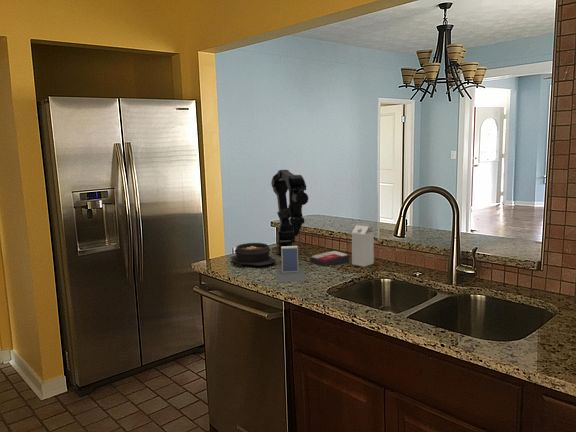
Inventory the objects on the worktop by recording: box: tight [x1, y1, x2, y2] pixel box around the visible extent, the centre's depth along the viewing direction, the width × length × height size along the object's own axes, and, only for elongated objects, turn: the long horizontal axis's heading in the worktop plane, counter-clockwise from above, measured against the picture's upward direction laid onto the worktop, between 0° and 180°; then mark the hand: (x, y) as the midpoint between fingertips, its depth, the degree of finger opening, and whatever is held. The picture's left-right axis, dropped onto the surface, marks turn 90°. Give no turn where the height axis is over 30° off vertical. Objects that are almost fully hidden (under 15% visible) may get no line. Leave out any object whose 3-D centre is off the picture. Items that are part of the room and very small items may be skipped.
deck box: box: [280, 245, 299, 273], centre depth 208 cm, size 3×7×11 cm, turn 93°
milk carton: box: [351, 222, 375, 268], centre depth 218 cm, size 7×7×19 cm
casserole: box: [230, 242, 277, 267], centre depth 226 cm, size 25×19×8 cm
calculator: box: [309, 250, 350, 267], centre depth 225 cm, size 11×4×15 cm
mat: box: [275, 267, 308, 283], centre depth 204 cm, size 20×12×1 cm, turn 4°
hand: (296, 235), depth 223 cm, fingers closed
